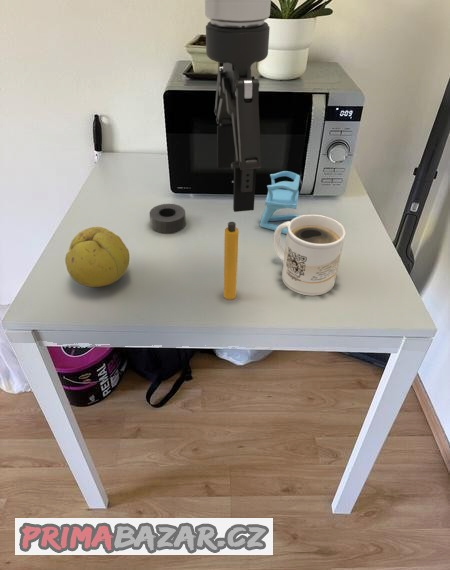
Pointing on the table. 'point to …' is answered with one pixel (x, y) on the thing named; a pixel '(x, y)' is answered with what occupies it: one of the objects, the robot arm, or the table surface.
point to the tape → (167, 218)
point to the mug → (310, 253)
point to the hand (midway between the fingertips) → (234, 186)
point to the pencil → (230, 260)
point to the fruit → (97, 257)
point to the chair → (280, 199)
